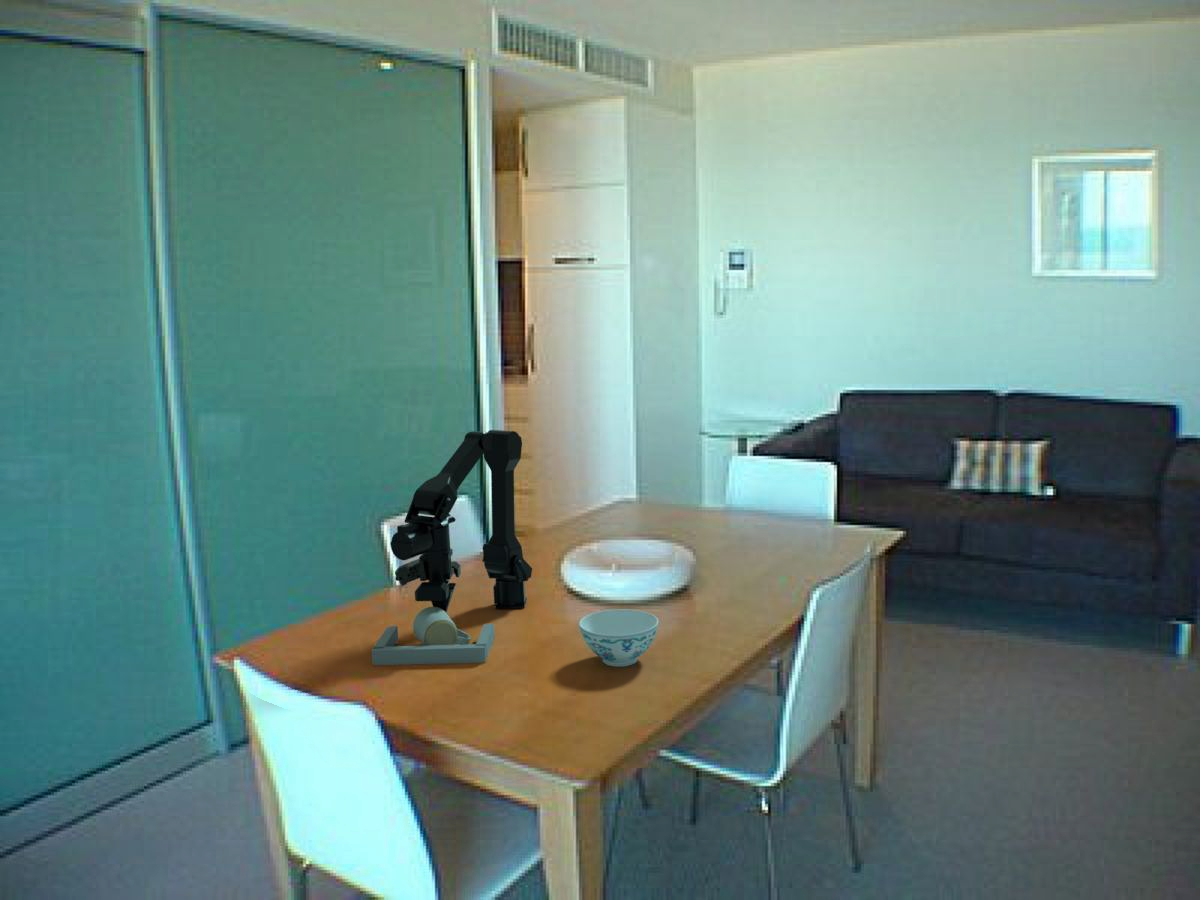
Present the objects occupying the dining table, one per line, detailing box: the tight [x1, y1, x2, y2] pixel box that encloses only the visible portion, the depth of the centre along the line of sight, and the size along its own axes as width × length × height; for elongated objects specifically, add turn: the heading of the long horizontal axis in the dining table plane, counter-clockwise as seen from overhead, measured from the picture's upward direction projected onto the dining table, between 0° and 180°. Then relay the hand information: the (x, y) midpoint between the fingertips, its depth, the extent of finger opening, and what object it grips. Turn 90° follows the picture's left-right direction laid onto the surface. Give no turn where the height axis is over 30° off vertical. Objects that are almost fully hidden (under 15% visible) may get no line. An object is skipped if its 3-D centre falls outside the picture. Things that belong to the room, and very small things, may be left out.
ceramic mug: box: [412, 606, 472, 646], centre depth 218 cm, size 11×8×8 cm
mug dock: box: [371, 623, 496, 666], centre depth 216 cm, size 22×14×3 cm, turn 88°
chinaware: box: [578, 608, 659, 667], centre depth 207 cm, size 15×15×8 cm
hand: (441, 620), depth 223 cm, fingers closed
